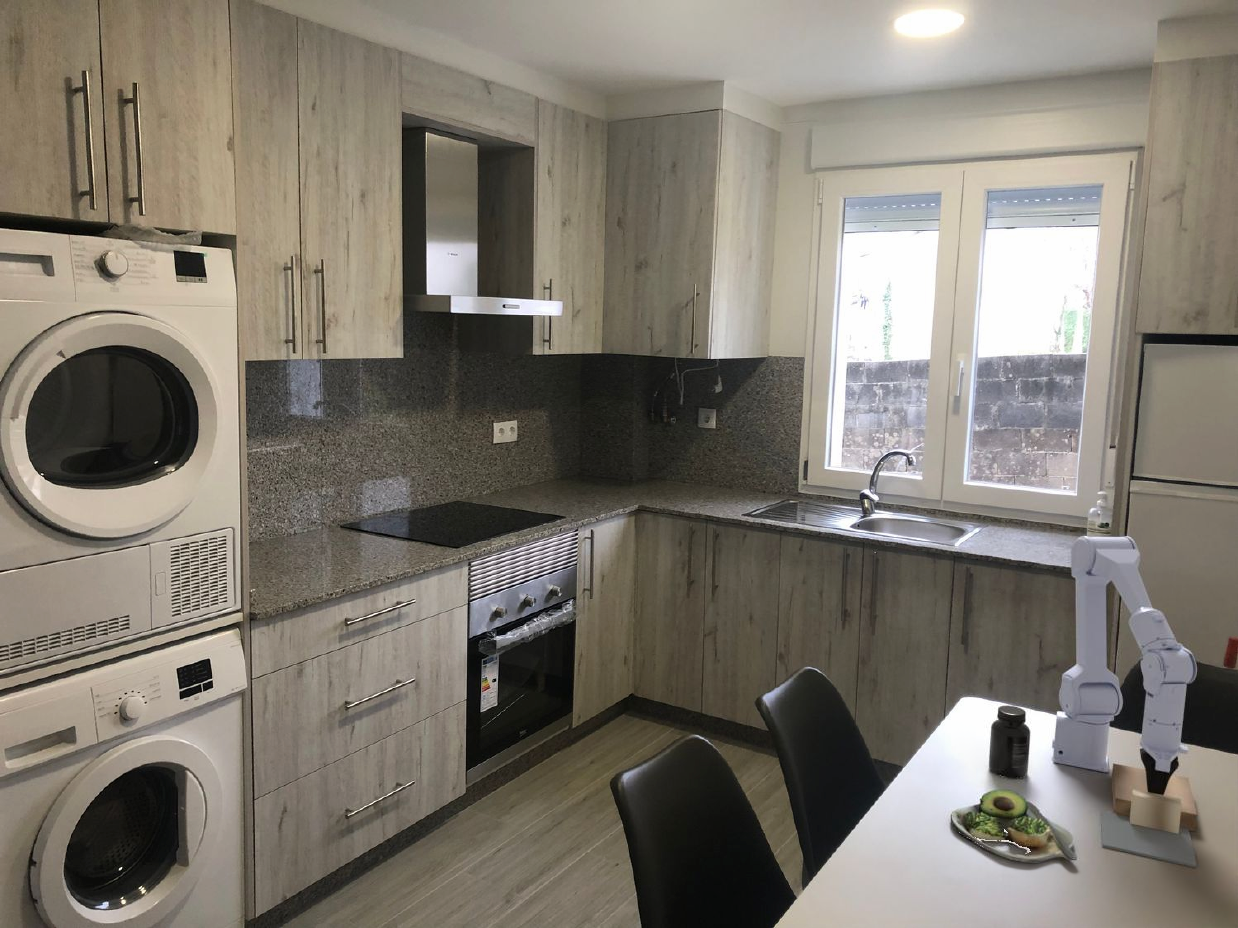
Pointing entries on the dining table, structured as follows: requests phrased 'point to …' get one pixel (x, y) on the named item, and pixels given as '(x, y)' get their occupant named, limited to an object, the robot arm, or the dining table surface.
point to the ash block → (1155, 811)
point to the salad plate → (1014, 827)
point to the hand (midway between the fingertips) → (1155, 794)
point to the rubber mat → (1146, 840)
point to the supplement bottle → (1009, 743)
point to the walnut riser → (1136, 779)
